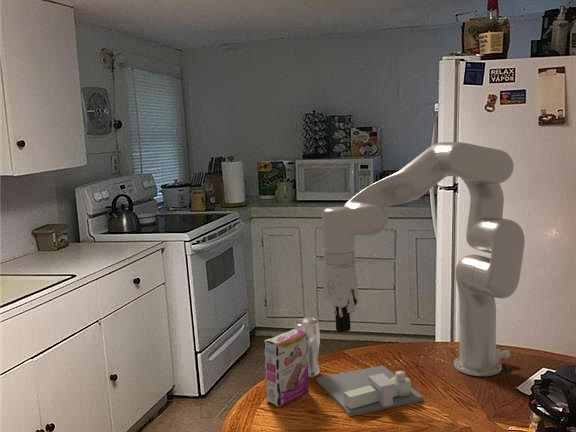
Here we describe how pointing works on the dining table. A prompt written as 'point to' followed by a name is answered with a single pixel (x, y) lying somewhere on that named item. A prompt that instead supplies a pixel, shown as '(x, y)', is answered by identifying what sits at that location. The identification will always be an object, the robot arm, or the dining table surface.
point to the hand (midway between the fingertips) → (343, 330)
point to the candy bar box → (286, 367)
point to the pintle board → (363, 378)
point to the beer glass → (311, 342)
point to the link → (376, 392)
